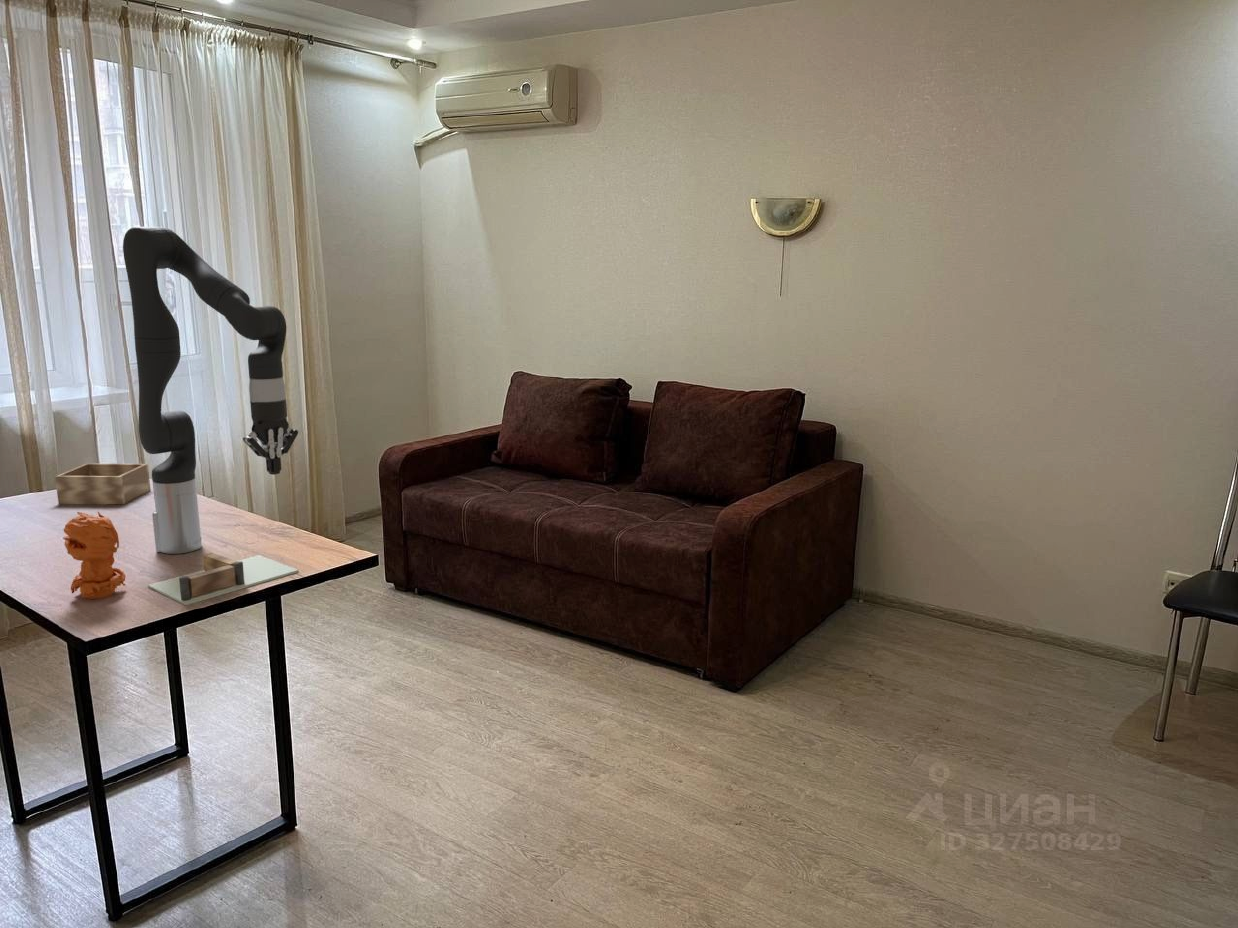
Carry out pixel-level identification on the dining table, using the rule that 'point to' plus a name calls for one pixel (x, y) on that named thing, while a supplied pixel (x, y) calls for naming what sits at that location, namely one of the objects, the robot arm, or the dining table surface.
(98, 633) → the dining table surface
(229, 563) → the rail
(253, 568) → the card
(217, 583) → the fence fixed
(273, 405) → the robot arm
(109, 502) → the toy crate
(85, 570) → the toy dinosaur
